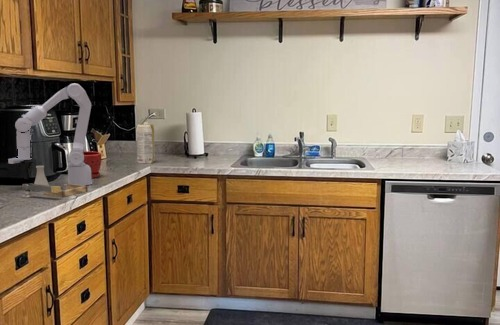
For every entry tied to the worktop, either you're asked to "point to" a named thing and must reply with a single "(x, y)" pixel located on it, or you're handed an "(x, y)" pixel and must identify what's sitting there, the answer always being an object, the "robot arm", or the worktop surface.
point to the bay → (69, 191)
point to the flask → (40, 176)
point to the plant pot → (94, 166)
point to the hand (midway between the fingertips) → (26, 178)
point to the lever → (41, 187)
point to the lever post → (27, 193)
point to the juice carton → (145, 143)
